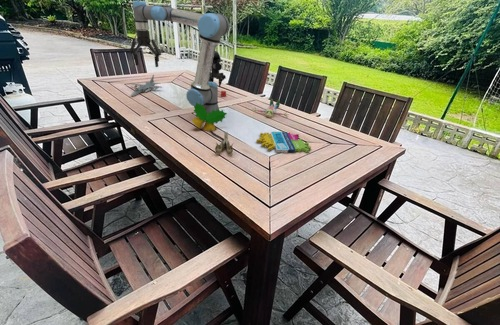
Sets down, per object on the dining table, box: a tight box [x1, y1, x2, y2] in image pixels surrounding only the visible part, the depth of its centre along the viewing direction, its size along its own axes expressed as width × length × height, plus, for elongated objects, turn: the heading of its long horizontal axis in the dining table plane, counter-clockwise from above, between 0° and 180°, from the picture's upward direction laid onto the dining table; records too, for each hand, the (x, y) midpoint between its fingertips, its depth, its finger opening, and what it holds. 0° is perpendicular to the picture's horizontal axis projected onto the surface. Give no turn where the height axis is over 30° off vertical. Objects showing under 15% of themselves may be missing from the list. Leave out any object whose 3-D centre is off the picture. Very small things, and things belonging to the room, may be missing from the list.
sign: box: [256, 131, 312, 154], centre depth 152 cm, size 26×2×30 cm
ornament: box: [191, 102, 228, 132], centre depth 162 cm, size 21×8×15 cm, turn 105°
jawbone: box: [214, 131, 234, 156], centre depth 136 cm, size 9×15×10 cm
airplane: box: [128, 74, 161, 97], centre depth 228 cm, size 38×31×10 cm
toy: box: [251, 98, 290, 118], centre depth 199 cm, size 28×7×30 cm
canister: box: [220, 90, 227, 98], centre depth 230 cm, size 4×4×4 cm
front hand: (147, 66), depth 173 cm, fingers open, 13 cm apart
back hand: (214, 87), depth 229 cm, fingers open, 9 cm apart
